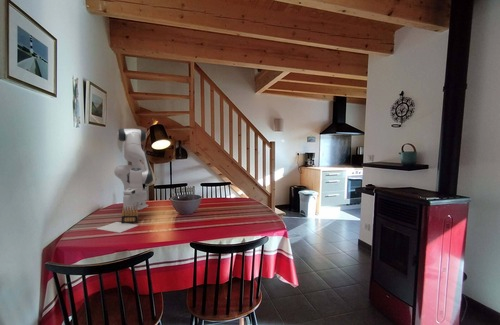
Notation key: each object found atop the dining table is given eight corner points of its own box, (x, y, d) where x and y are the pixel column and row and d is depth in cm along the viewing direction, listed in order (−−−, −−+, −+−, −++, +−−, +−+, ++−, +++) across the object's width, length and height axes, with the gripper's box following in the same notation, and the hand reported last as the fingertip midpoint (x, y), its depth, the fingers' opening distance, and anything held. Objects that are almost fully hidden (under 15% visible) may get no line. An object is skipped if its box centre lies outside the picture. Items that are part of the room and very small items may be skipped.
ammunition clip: (121, 223, 169) (121, 206, 169) (121, 222, 171) (122, 205, 171) (137, 222, 172) (138, 206, 172) (138, 222, 174) (138, 205, 174)
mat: (116, 222, 173) (116, 221, 173) (138, 225, 167) (138, 225, 167) (96, 229, 158) (96, 228, 158) (119, 232, 151) (119, 232, 151)
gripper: (142, 187, 187) (143, 205, 188) (121, 191, 167) (121, 211, 168) (149, 188, 185) (149, 205, 186) (128, 192, 166) (128, 212, 166)
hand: (136, 208), depth 177 cm, fingers closed
